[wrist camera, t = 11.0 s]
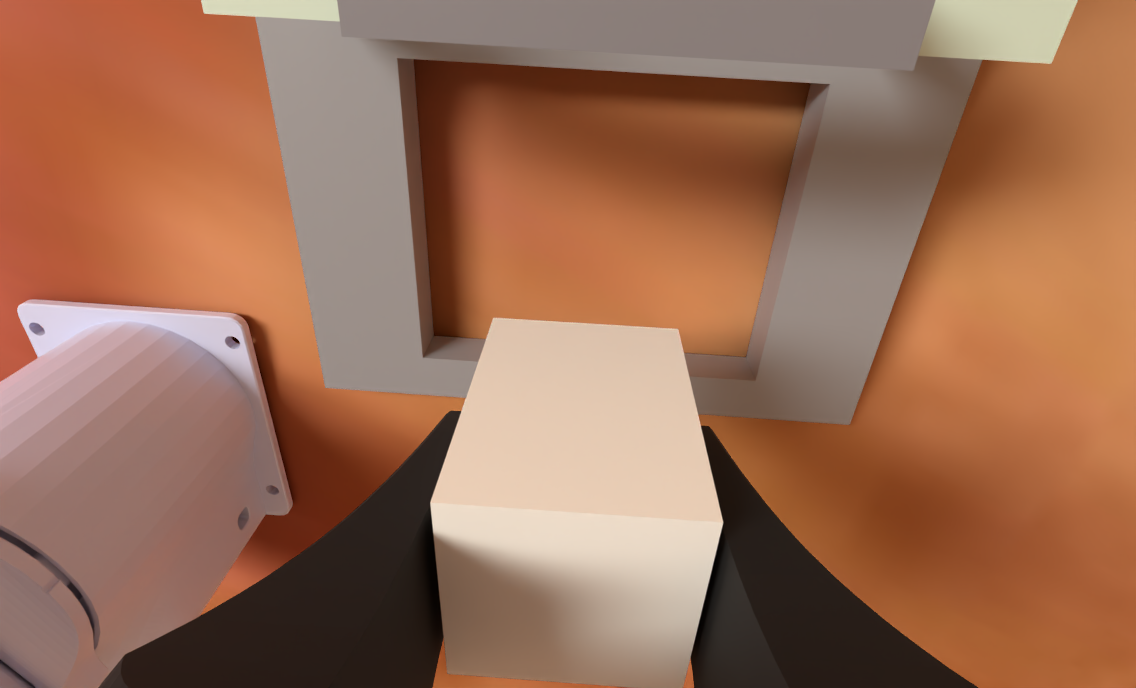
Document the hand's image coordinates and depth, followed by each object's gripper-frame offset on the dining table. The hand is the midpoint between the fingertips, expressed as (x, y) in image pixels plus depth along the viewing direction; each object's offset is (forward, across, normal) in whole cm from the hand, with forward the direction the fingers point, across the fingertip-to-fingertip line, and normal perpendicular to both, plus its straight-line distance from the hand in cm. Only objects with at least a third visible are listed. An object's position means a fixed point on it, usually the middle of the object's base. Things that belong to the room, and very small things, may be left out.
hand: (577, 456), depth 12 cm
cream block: (+2, 0, 0) cm, 2 cm away
